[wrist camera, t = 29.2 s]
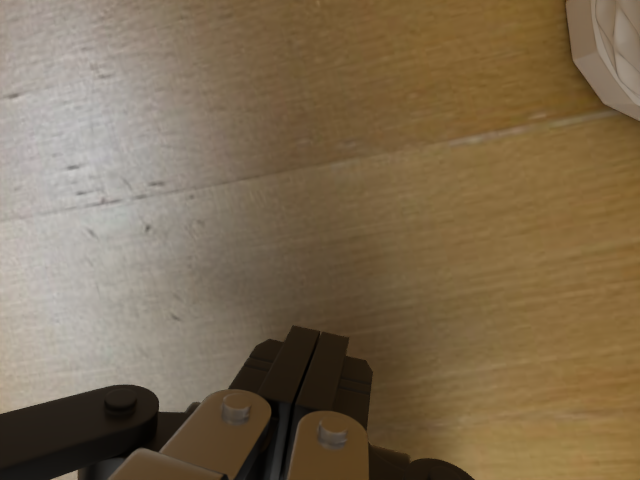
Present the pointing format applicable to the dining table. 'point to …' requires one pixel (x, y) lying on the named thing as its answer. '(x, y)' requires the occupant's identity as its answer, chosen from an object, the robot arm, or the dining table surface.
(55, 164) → the dining table surface
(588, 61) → the white cup
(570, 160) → the dining table surface
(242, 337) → the dining table surface
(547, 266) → the dining table surface
